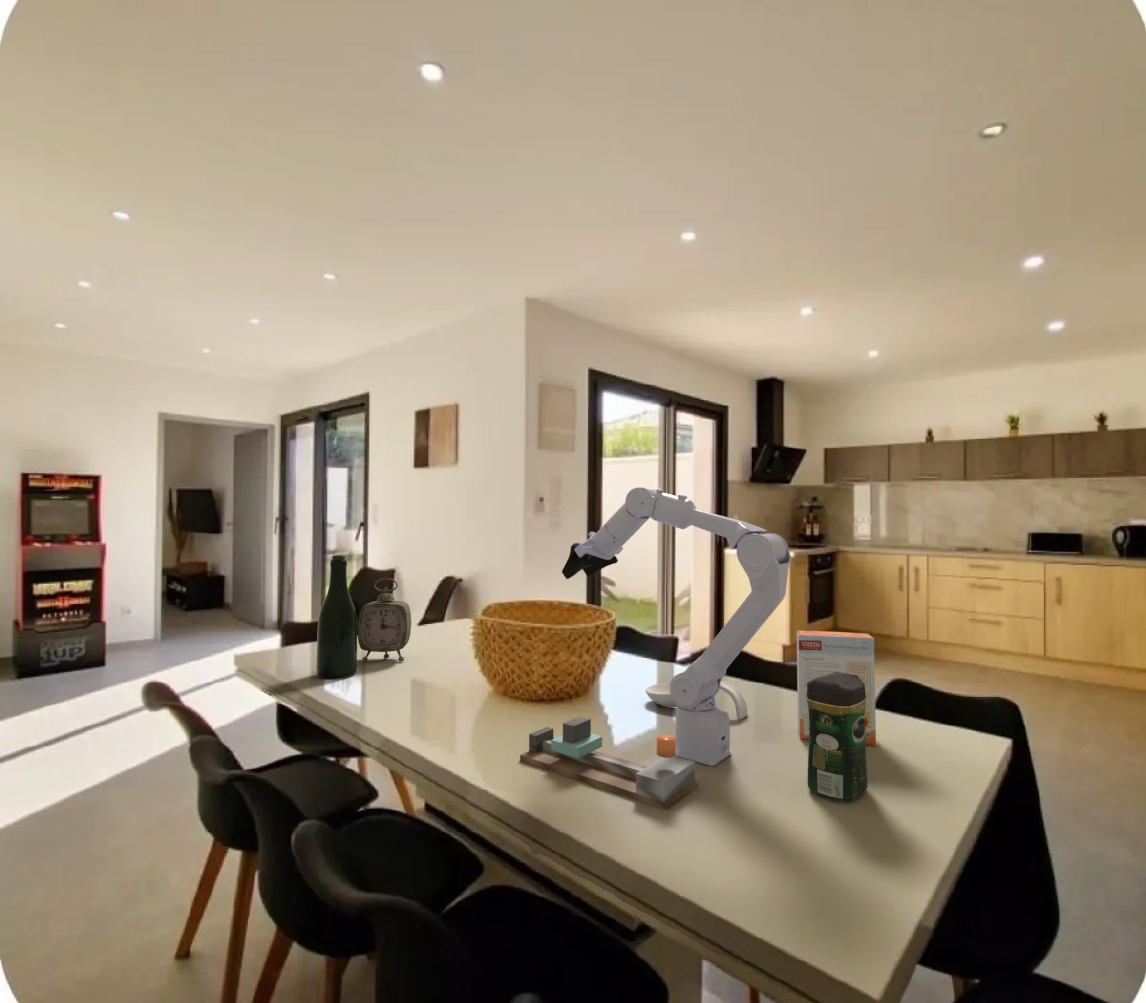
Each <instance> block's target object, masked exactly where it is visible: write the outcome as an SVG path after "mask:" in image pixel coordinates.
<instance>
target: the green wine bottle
mask: <svg viewBox="0 0 1146 1003" xmlns="http://www.w3.org/2000/svg"><path fill="white" fill-rule="evenodd" d="M329 566H330V573H329V583H328V590H327V593H326V596H325V597H324V598H325V599H324V600H323V604H322V606H321V608H320V610H319V615H318V621H317V622H318V623H317V636H316V638H317V640H316V666H315V667H316V670H315V671H316V672H315V673H316V676H317V677H318V678H320V679H323V678H324V679H323V680H337V678H340V679H346V678H350V677H352V676H354V675H356V673H357V671H358V631H357V626H358V618H357V617H358V616H357V613H356V611H357V610H356V608H355V605H354V603H353V600H352V598H351V595H350V594H351V593H350V591H349V589H348V588H349V587H348V576H347V574H348V572H347V569H348V568H347V567H348V560H347V559H346V555H343V554H337V555H336V554H334V555H332V557H331V560H330V562H329ZM349 676H350V677H349ZM345 677H346V678H345Z"/></svg>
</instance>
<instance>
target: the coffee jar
mask: <svg viewBox="0 0 1146 1003" xmlns="http://www.w3.org/2000/svg"><path fill="white" fill-rule="evenodd" d="M807 704H808V710H809V740H808V752H807V753H808V754H807V755H808V756H807V787H808V789H809V790H810V791H811V792H813V793H815V794H816V795H818V796H819V797H822V798H824V799H826V800H829V801H840V802H846V803H847V802H852V801H854V800H857V799H858V798H860V797H861V796H862V795H863V794H864V793H865V792H866V791H867V789H868V785H869V784H868V768H867V767H868V766H867V749H866V748H867V747H866V746H867V745H866V743H865V706H866V693H865V684H864V683H863V681H862V680H861V679H860V678H859V677H858V676H857V675H852V674H847V673H842V672H836V671H834V672H833V673H830V674H827V675H823V676H820V677H818V678H815V679H813V680H810V681H808V682H807Z"/></svg>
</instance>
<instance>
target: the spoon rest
mask: <svg viewBox="0 0 1146 1003" xmlns="http://www.w3.org/2000/svg"><path fill="white" fill-rule="evenodd" d="M670 683H671V682H661V683H657V684H652V685H650V686H647V688H645V693H646V695H647V696H648V698H649V699H650V700H652V702H654V703H656V704H658V705H659V706H661V705H662V707H664V706H665V708H668V707H672V708H671V709H676V708H675V707H676V702H675V701H674V700H673V698H672V696H671V693H670ZM719 690H722V691H723V692H725V693H726V694H728V696H730V698H731V699H732V701H733V703H734V708H735V711H736V719H737V720H742V719H744V718H745V717H746V716H747V715H748V712H749V711H748V706H747V703H746V700H745V698H744V696H743V694H741V692H740V691H739V690H738V689H737V688H736V687H735V686H733V685H731V684H729V683H728V682H725V681H723V680H721V685H720V689H719ZM673 707H674V708H673Z"/></svg>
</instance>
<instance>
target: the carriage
mask: <svg viewBox="0 0 1146 1003" xmlns="http://www.w3.org/2000/svg"><path fill="white" fill-rule="evenodd" d="M591 722H592V719H591V718H590V717H589V718H588V717H585V716H578V717H575V718H572V719H570V720H567V721H565V722H562V735H559V736H557V737H553V739H552V740H551V750H552V751H555V752H559V753H562V754H565V755H568V756H571V757H575V758H580V757H582V756H584V755H586V754H588V753H590V752H592V751H596V750H598V749H601V748H602V747H603V736H601V735H598V734H594V733H591V732H592V730H591V729H592V726H591V725H592V724H591Z"/></svg>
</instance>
